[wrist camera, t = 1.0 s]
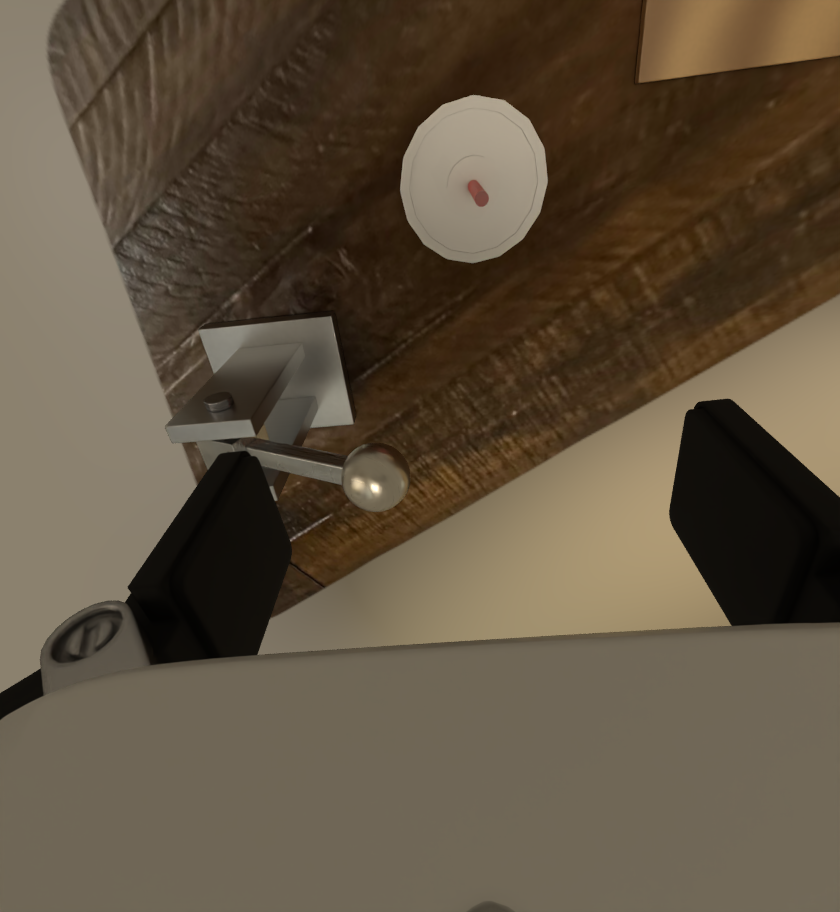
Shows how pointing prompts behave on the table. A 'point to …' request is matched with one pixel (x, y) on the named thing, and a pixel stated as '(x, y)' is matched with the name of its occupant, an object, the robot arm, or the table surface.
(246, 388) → the faucet base
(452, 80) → the table surface
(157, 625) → the robot arm
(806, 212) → the table surface
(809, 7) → the drip mat
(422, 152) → the beverage cup
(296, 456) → the grey lever handle
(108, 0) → the table surface
